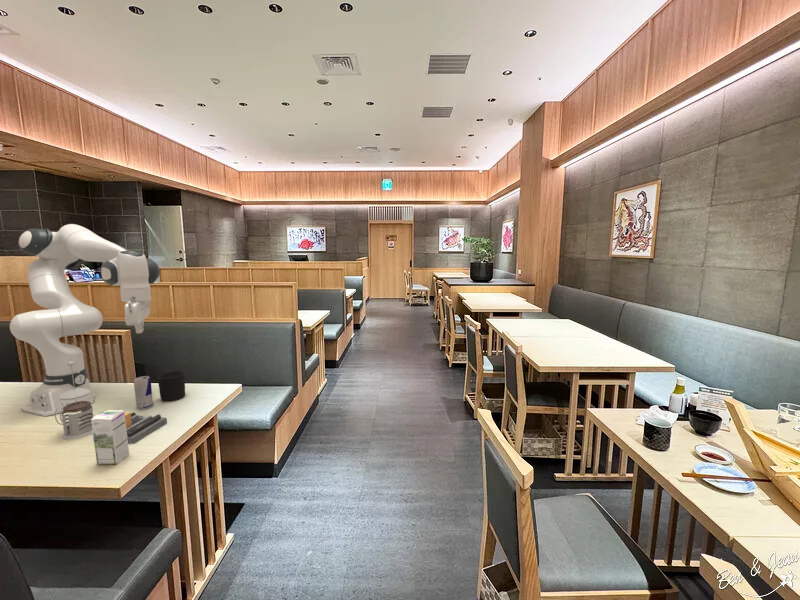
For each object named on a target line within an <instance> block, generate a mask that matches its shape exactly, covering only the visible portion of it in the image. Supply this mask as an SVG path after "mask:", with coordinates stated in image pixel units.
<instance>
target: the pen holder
mask: <svg viewBox="0 0 800 600" xmlns="http://www.w3.org/2000/svg"><path fill="white" fill-rule="evenodd" d="M185 375H186V374H185V372H183V371H181V370H173V371H172V370H171V371H167V372H162V373H161V374H160V375H158V377H157V382H158V388H159V389H158V390H159V396H160V400H161V401H163V402H166V403H167V402H176V401H178V400H181V399H183V398H184V397H185V396H186V378H185Z"/></svg>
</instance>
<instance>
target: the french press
mask: <svg viewBox="0 0 800 600" xmlns="http://www.w3.org/2000/svg"><path fill="white" fill-rule="evenodd" d="M72 365H75V362H73V361H72V362H68V364H67V366H71V370H72ZM72 378H73V371H72ZM73 385H74V379H73ZM91 390H92V389H91ZM91 390H89V389H84V388H76V389H75V387H74V389H72V390H69V391H66V392H64V393H63V394H61V395H60V396H59V397H58V398H59V399H61V400H71V399H75V401H76V398H80V397H83V396H86V395H88V394H89V393H90V392H91ZM90 403H91V402H89V401H80V402H75V403H71V404H68V403H66V404H67V405H66V404H65V405H64V406H63V403H61V404H62V406H63V407H62V409H63V410H64V411H63V412H62V409H61V411H60V413H59V419H60V421H61V423H60V422H59V421H58V420H57V419H58V418H57V414H56V412H57V409H58V407H59V406H60V405H61V404H60V405H59V406H58V407H57V409H56V412H55V414H54V417H55V421H56V423H57V424H59V425H61V426H62V428H63V433H62V434H61V435H60V439H62V440H65V441H66V440H67V441H69V440H77V439H80V438H81V439H82V438H84V437H87V436H90V435H93V431H92V423H91V419H92V418H93V417H94V410H93V409H94V408H93V406H92V403H91V404H90ZM61 412H62V413H61ZM67 413H70V414H67ZM71 413H74V414H71Z"/></svg>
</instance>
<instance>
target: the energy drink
mask: <svg viewBox="0 0 800 600" xmlns="http://www.w3.org/2000/svg"><path fill="white" fill-rule="evenodd" d="M133 388H134V397H135V398H134V399H135V405H136V406H135V407H136V409H137V410H138V411H144V410H148V409H151V408H152V407H153V406H154V401H153V390H152V380H151V377H150V376H149V375H142V376H139V377H135V378H134V379H133Z"/></svg>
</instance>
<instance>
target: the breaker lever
mask: <svg viewBox="0 0 800 600" xmlns="http://www.w3.org/2000/svg"><path fill="white" fill-rule="evenodd" d="M124 413H125V421H126V429H127V428H128V427H130V426H132V421H131V413H132V412H128V411H127V412H126V411H124Z"/></svg>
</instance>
